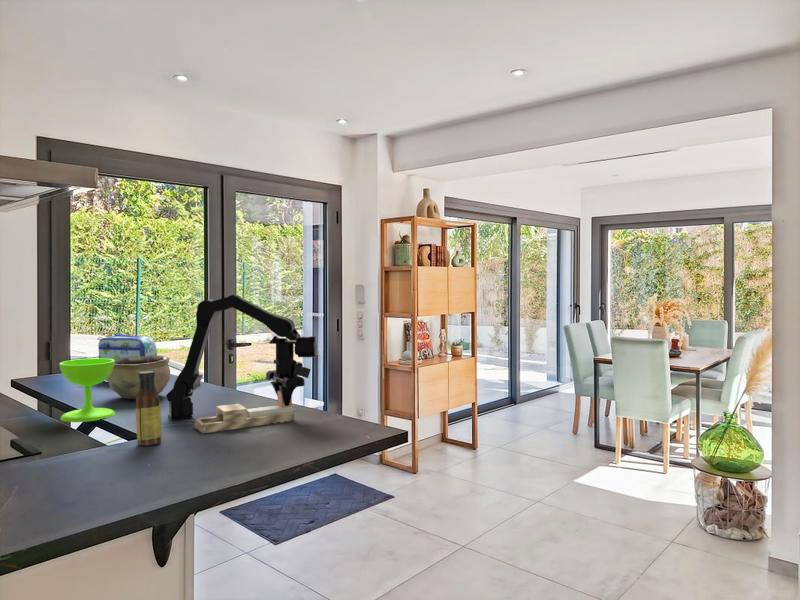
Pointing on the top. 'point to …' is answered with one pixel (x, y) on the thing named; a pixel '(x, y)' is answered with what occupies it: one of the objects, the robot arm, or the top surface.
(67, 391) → the top surface
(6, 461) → the top surface
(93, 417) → the wineglass
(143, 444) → the sauce bottle
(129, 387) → the ceramic bowl
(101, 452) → the top surface
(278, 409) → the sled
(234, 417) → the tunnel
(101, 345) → the lunch box
